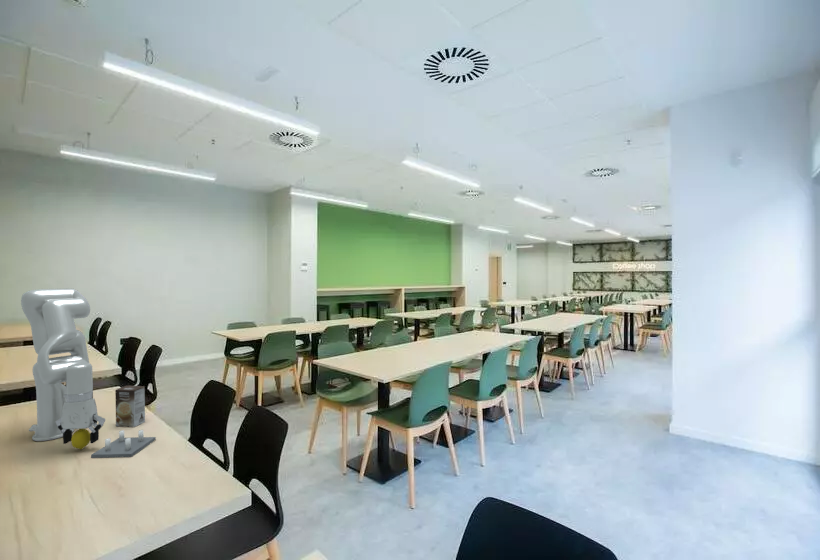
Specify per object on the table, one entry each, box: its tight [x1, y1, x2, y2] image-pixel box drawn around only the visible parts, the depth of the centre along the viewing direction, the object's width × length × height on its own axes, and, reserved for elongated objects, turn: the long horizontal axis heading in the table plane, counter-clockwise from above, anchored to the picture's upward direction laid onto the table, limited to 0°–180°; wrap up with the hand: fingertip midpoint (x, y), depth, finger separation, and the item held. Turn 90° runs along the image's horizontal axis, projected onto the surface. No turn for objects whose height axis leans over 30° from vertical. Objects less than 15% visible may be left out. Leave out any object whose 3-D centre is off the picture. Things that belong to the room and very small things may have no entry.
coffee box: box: [114, 385, 146, 428], centre depth 168 cm, size 9×6×16 cm
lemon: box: [70, 428, 91, 450], centre depth 144 cm, size 6×6×8 cm
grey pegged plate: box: [90, 429, 157, 459], centre depth 145 cm, size 14×14×5 cm
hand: (81, 441), depth 144 cm, fingers open, 9 cm apart
